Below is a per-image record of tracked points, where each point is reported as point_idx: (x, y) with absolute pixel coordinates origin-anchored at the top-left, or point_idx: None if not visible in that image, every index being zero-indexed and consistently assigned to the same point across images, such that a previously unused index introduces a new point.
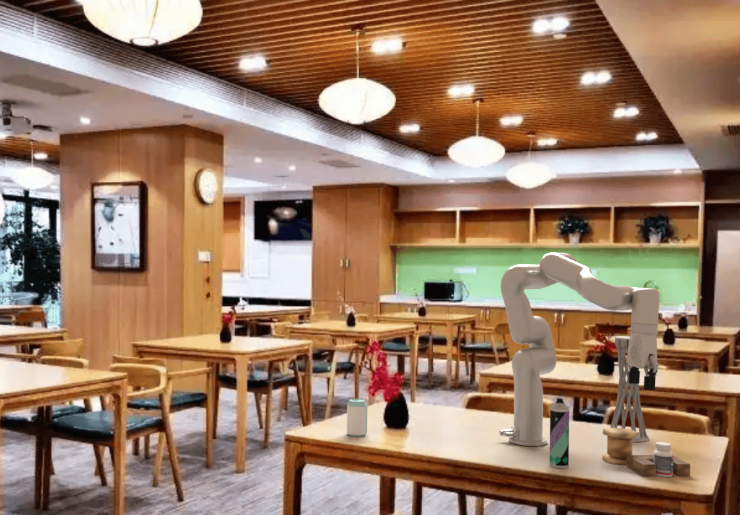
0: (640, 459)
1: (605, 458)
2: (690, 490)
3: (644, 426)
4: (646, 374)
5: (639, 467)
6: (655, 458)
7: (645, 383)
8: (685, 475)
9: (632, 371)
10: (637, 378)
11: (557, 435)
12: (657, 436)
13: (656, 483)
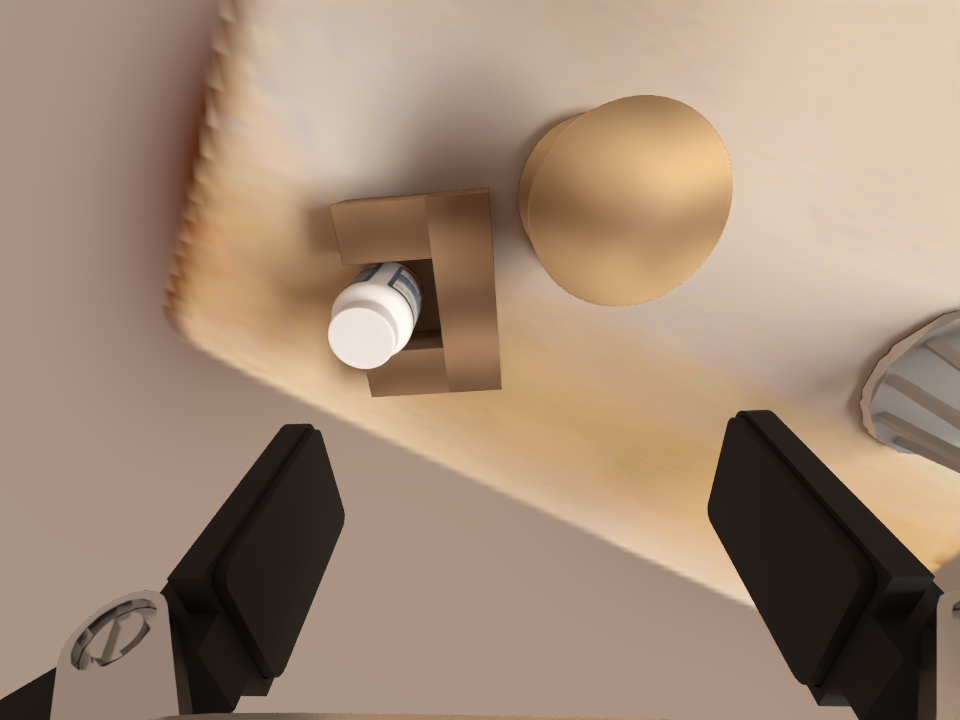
0: (416, 229)
1: (581, 114)
2: (210, 306)
3: (941, 463)
4: (127, 631)
5: (368, 200)
6: (362, 278)
7: (249, 486)
8: None
9: (844, 594)
10: (741, 548)
11: None
12: (914, 488)
13: (266, 219)
